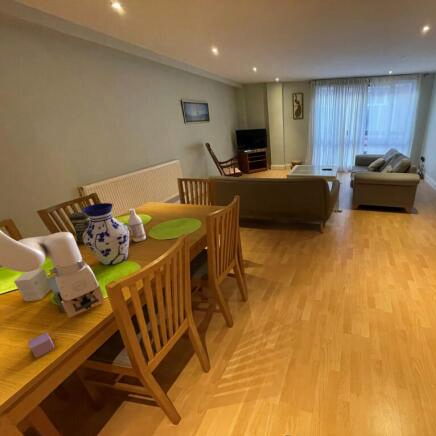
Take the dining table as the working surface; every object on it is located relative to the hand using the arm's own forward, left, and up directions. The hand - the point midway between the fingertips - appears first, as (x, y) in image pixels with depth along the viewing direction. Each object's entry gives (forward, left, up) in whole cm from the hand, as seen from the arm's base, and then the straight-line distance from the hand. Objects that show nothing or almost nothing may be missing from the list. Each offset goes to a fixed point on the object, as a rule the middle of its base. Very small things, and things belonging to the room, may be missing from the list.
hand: (87, 306), depth 91 cm
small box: (-10, +30, -3) cm, 32 cm away
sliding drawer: (0, +6, -2) cm, 7 cm away
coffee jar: (+18, +75, -3) cm, 78 cm away
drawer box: (0, +16, -3) cm, 17 cm away
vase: (+20, +36, -3) cm, 42 cm away
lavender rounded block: (-14, -8, -3) cm, 16 cm away
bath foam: (+38, +51, -3) cm, 64 cm away
